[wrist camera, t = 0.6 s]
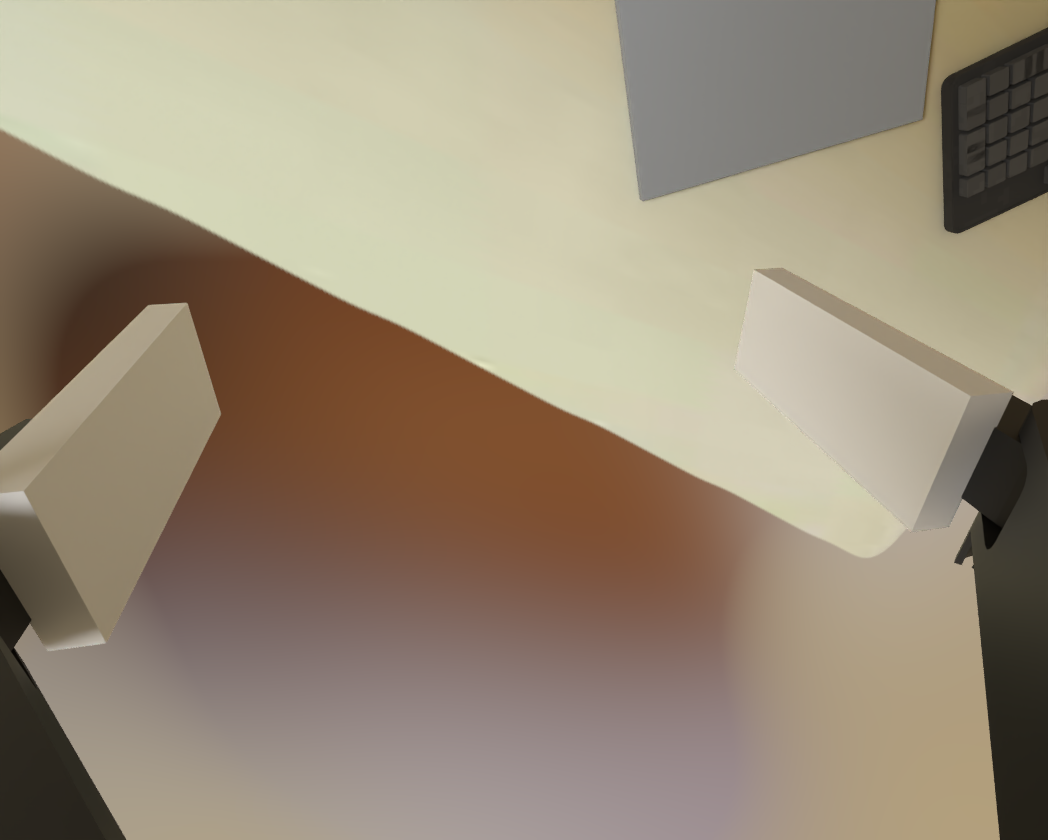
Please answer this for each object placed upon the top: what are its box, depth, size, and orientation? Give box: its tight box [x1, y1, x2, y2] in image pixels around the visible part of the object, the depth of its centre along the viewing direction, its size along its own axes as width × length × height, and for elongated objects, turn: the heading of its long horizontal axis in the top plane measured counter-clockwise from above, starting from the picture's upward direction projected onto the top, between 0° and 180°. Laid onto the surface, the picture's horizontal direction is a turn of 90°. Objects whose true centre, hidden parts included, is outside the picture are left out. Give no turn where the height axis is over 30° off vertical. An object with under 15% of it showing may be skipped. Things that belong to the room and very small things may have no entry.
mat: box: [615, 0, 936, 201], centre depth 36 cm, size 18×20×1 cm
